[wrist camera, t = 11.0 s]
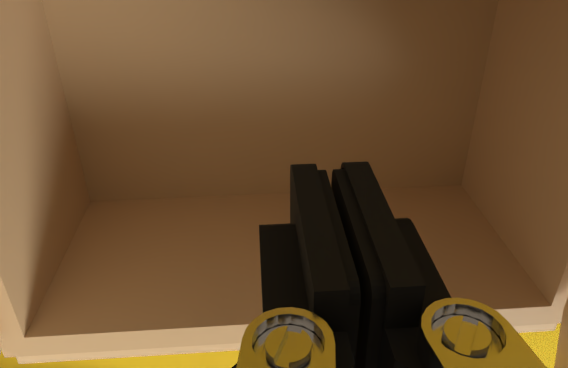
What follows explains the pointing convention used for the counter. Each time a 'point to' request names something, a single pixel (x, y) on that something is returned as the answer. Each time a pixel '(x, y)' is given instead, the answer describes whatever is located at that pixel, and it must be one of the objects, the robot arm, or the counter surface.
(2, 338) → the left flap
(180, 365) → the counter surface
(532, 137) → the carton
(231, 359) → the counter surface
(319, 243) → the robot arm
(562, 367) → the right flap
